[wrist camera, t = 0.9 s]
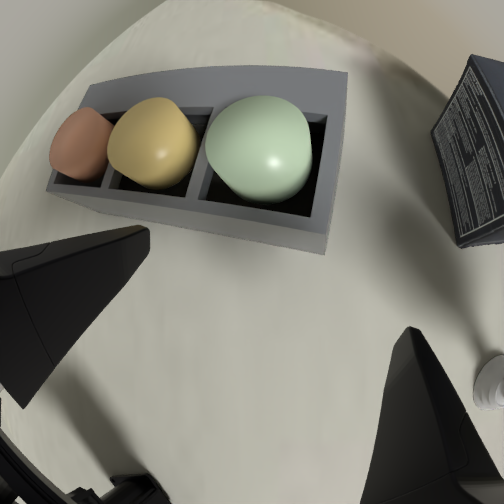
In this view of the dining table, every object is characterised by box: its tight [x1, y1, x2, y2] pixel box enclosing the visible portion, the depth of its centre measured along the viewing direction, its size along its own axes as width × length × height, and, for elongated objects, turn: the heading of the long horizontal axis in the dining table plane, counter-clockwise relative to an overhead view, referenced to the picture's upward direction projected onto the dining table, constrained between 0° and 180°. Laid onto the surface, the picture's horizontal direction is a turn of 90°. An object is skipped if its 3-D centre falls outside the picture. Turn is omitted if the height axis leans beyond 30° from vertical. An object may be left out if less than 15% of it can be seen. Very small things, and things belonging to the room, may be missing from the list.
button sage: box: [205, 96, 313, 205], centre depth 15 cm, size 5×5×3 cm
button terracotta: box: [49, 107, 115, 183], centre depth 19 cm, size 5×5×3 cm
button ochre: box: [107, 97, 201, 190], centre depth 17 cm, size 5×5×3 cm
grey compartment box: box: [46, 65, 348, 255], centre depth 21 cm, size 11×22×8 cm, turn 77°
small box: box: [431, 54, 504, 249], centre depth 14 cm, size 11×6×10 cm, turn 3°
